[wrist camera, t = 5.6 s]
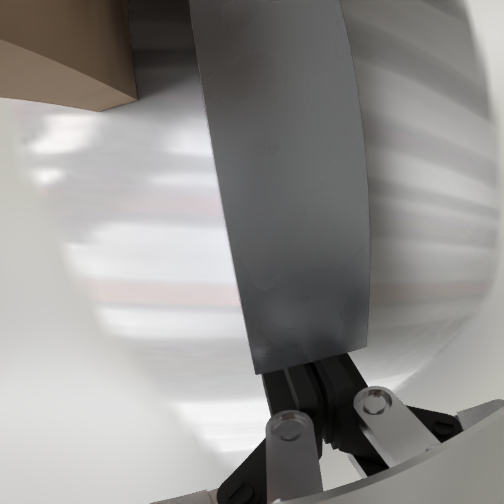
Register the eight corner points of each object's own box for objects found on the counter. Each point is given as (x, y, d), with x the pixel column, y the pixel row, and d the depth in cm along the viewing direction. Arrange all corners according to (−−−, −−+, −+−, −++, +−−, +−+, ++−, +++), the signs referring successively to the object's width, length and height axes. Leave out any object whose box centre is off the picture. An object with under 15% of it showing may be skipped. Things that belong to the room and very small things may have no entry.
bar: (183, -39, 7) (176, -100, 3) (275, -46, 7) (303, -103, 4) (241, 306, 12) (255, 374, 9) (324, 289, 13) (365, 346, 9)
